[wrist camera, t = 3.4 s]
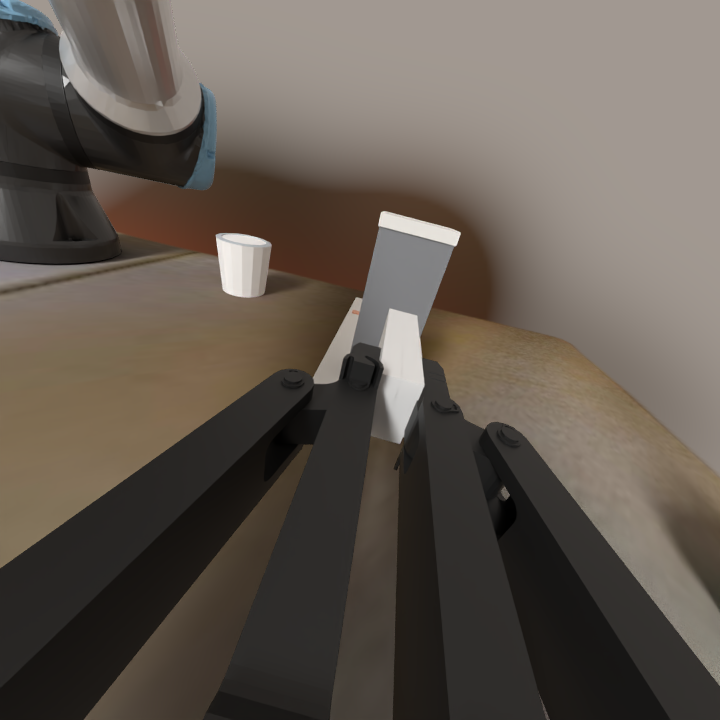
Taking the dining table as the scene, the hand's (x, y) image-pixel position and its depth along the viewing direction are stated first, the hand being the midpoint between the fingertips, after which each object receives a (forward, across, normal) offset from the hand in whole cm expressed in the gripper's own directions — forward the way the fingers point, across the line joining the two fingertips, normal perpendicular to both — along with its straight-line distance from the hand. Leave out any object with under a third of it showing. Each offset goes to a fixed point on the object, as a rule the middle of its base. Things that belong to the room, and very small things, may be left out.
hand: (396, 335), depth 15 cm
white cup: (+23, -21, -9) cm, 33 cm away
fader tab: (+8, 0, -8) cm, 11 cm away
